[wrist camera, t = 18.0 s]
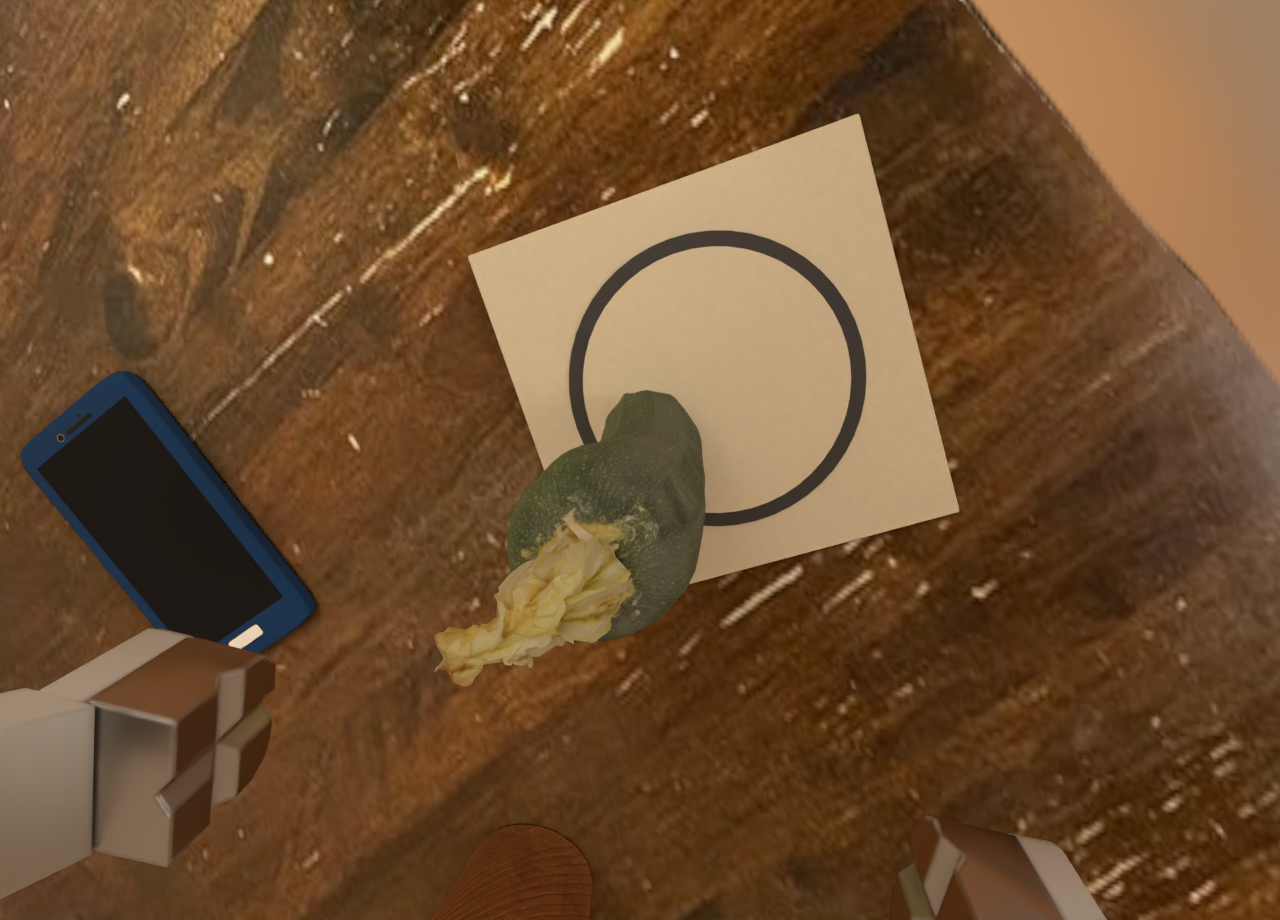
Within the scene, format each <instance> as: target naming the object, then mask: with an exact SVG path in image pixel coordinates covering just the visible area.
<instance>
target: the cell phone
mask: <svg viewBox="0 0 1280 920" xmlns="http://www.w3.org/2000/svg"><path fill="white" fill-rule="evenodd" d="M20 457H21V460H22V464H23V466H24V469H25V470H26V472H27V473H28V474H29V475H30V477H31V478H32V479H33V480H34V482H35V483H36V484H37V485H38V487H39V488H40V489H41V490H42V491H43V493H44V494H45V495H46V496H47V497H48V499H49V500H50V501H51V502H52V504H53V505H54V506H55V507H56V508H57V510H58V511H59V512H60V513H61V514H62V516H63V517H64V518H65V519H66V521H67V522H68V523H69V524H70V525H71V527H72V528H73V529H74V530H75V531H76V533H77V534H78V535H79V536H80V538H81V539H82V540H83V541H84V542H85V544H86V545H87V546H88V547H89V548H90V550H91V551H92V552H93V553H94V555H95V556H96V557H97V558H98V559H99V561H100V562H101V563H102V564H103V565H104V567H105V568H106V569H107V570H108V572H109V573H110V574H111V575H112V576H113V578H114V579H115V580H116V581H117V582H118V584H119V585H120V586H121V587H122V589H123V590H124V591H125V592H126V593H127V595H128V596H129V597H130V598H131V599H132V601H133V602H134V603H135V604H136V606H137V607H138V608H139V609H140V610H141V612H142V613H143V614H144V615H145V616H146V618H147V619H148V620H149V621H150V623H151V624H152V625H153V626H154V627H155V629H160V628H161V629H165V630H170V631H174V632H178V633H182V634H187V635H191V636H193V637H195V638H197V637H198V638H202V639H206V640H210V641H213V642H217V643H221V644H225V645H228V646H232V647H236V648H240V649H244V650H247V651H251V652H255V653H260V652H262V651H263V650H265V649H266V648H268V647H269V646H271V645H272V644H274V643H275V642H277V641H278V640H280V639H281V638H282V637H284V636H285V635H287V634H288V633H290V632H291V631H293V630H294V629H296V628H297V627H299V626H300V625H302V624H303V623H304V622H305V621H306V620H307V619H308V618H309V617H310V616H311V615H312V614H313V613H314V610H315V607H316V605H315V601H314V600H313V598H312V596H311V595H310V593H309V591H308V590H307V589H306V587H305V586H304V585H303V584H302V582H301V581H300V580H299V578H298V577H297V576H296V575H295V573H294V572H293V571H292V569H291V568H290V567H289V566H288V564H287V563H286V562H285V561H284V559H283V558H282V557H281V555H280V554H279V553H278V552H277V550H276V549H275V548H274V546H273V545H272V544H271V543H270V541H269V540H268V539H267V538H266V536H265V535H264V534H263V532H262V531H261V530H260V529H259V527H258V526H257V525H256V523H255V522H254V521H253V520H252V518H251V517H250V516H249V515H248V513H247V512H246V511H245V509H244V508H243V507H242V506H241V504H240V503H239V502H238V501H237V499H236V498H235V497H234V495H233V494H232V493H231V492H230V490H229V489H228V488H227V486H226V485H225V484H224V483H223V481H222V480H221V479H220V478H219V476H218V475H217V474H216V472H215V471H214V470H213V469H212V467H211V466H210V465H209V463H208V462H207V461H206V460H205V458H204V457H203V456H202V455H201V453H200V452H199V451H198V449H197V448H196V447H195V446H194V444H193V443H192V442H191V440H190V439H189V438H188V437H187V435H186V434H185V433H184V432H183V430H182V429H181V428H180V426H179V425H178V424H177V423H176V421H175V420H174V419H173V418H172V416H171V415H170V414H169V412H168V411H167V410H166V409H165V407H164V406H163V405H162V403H161V402H160V401H159V400H158V398H157V397H156V396H155V395H154V393H153V392H152V391H151V390H150V389H149V387H148V386H147V385H146V384H145V383H144V382H143V381H142V379H141V378H139V377H138V376H136V375H134V374H133V373H131V372H116V373H112V374H111V375H109V376H108V377H106V378H105V379H103V380H102V381H100V382H99V383H98V384H97V385H96V386H95V387H93V388H92V389H91V390H90V391H89V392H87V393H86V394H85V395H84V396H83V397H81V398H80V399H79V400H78V401H77V402H76V403H74V404H73V405H72V406H71V407H70V408H68V409H67V410H66V411H65V412H64V413H63V414H61V415H60V416H59V417H58V418H57V419H55V420H54V421H53V422H52V423H51V424H49V425H48V426H47V427H46V428H45V429H44V430H42V431H41V432H40V433H39V434H38V435H36V436H35V437H34V438H33V439H32V440H31V441H30V442H29V443H28V444H27V445H26V446H25V447H24V449H23V450H22V452H21V455H20Z"/></svg>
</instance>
